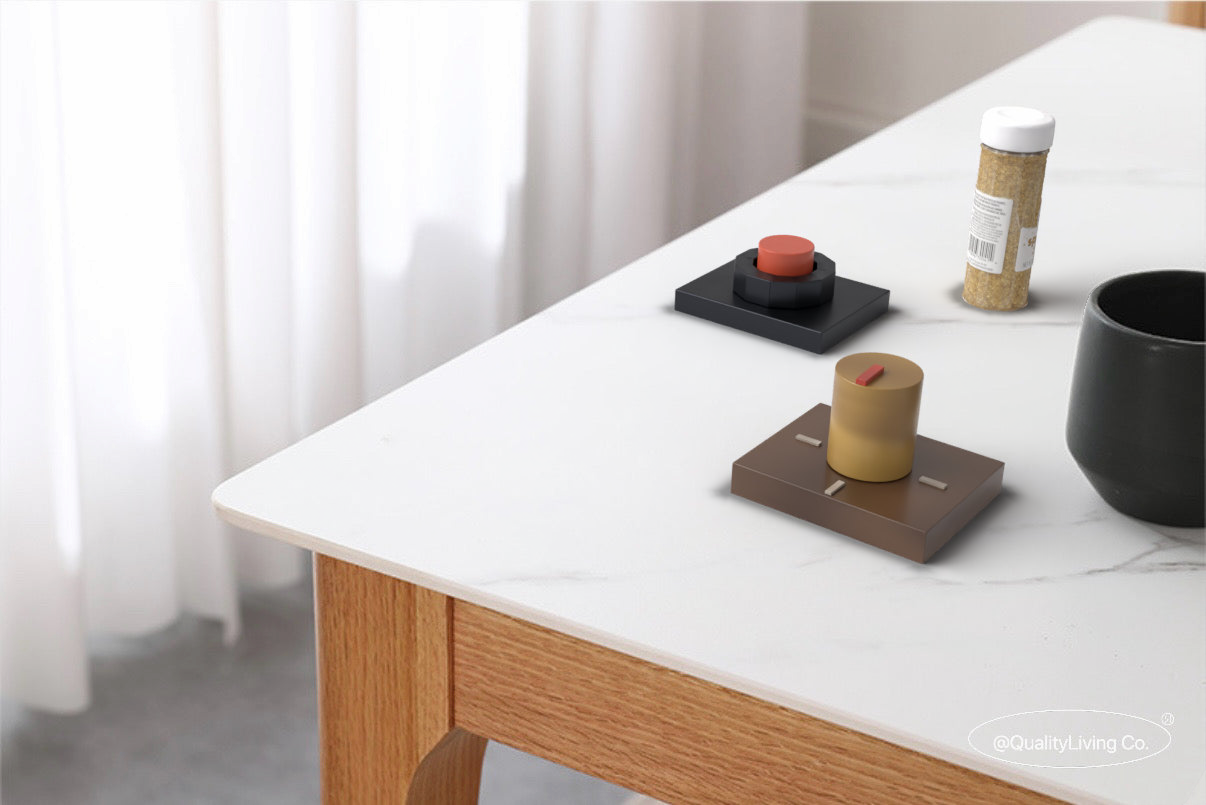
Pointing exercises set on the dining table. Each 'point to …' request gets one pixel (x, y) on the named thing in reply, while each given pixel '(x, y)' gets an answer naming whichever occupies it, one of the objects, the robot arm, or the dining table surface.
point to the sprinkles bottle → (1007, 207)
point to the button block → (784, 302)
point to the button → (785, 255)
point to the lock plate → (869, 488)
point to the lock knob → (874, 416)
